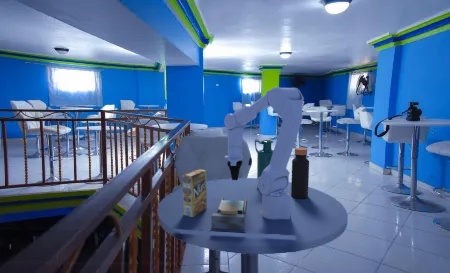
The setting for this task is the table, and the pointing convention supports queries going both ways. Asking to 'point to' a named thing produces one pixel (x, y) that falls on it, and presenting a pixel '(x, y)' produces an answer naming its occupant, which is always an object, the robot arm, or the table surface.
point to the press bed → (229, 220)
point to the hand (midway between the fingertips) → (234, 179)
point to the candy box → (194, 192)
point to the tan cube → (229, 209)
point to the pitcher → (263, 156)
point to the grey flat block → (231, 202)
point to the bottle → (300, 174)
